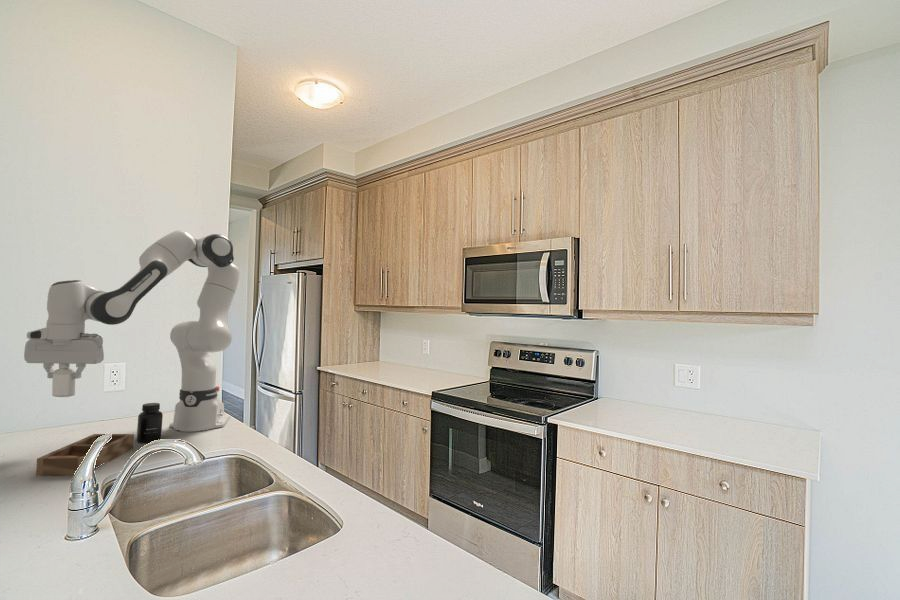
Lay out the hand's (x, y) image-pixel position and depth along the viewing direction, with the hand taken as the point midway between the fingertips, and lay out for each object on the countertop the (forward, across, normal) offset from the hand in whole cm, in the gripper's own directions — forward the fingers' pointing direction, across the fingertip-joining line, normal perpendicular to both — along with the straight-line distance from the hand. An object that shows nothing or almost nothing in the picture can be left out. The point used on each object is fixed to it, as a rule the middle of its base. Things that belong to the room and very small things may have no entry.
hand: (64, 378), depth 133 cm
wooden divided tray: (+22, -14, +9) cm, 28 cm away
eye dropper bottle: (+6, 0, 0) cm, 6 cm away
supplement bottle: (+22, -20, -10) cm, 31 cm away
